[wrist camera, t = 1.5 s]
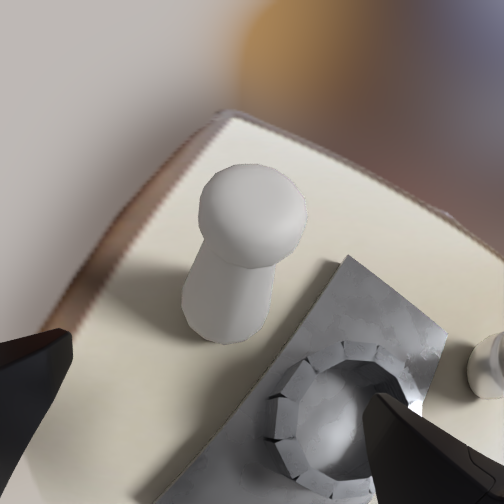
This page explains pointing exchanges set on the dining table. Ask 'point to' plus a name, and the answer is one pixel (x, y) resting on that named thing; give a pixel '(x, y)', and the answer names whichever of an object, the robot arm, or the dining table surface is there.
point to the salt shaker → (241, 250)
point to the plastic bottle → (487, 368)
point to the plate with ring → (318, 401)
